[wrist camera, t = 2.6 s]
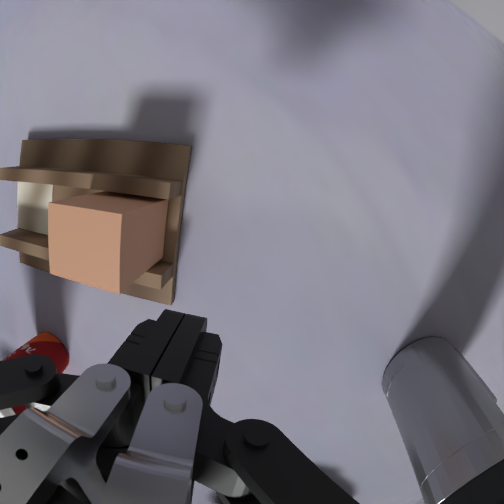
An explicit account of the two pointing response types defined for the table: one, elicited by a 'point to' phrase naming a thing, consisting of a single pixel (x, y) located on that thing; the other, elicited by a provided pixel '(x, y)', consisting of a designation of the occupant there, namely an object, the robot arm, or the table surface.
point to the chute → (92, 181)
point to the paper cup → (42, 346)
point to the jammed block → (105, 238)
